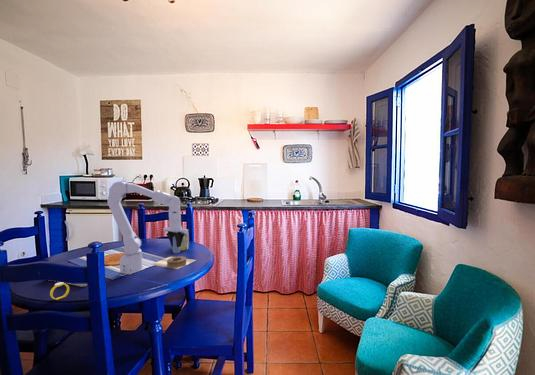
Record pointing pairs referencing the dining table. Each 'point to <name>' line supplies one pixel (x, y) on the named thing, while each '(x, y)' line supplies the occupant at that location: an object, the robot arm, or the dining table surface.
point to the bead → (176, 261)
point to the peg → (175, 246)
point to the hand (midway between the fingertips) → (176, 246)
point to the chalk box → (184, 242)
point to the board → (164, 264)
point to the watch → (58, 286)
